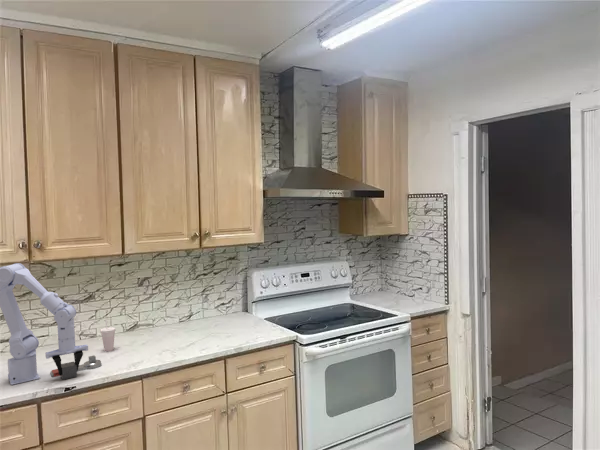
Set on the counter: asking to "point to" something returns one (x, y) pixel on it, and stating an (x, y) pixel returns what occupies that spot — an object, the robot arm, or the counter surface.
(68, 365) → the charcoal grey cube
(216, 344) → the counter surface
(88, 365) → the ratchet
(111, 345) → the smoothie
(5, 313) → the robot arm
